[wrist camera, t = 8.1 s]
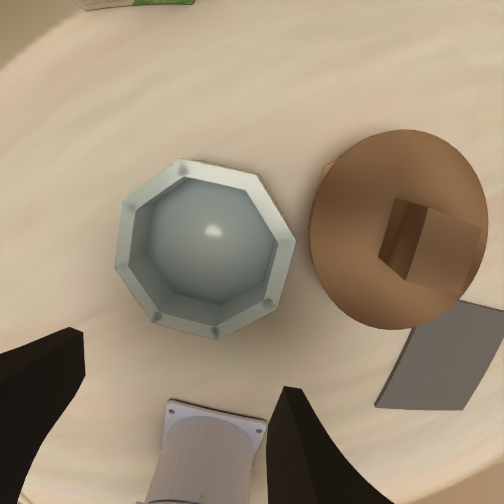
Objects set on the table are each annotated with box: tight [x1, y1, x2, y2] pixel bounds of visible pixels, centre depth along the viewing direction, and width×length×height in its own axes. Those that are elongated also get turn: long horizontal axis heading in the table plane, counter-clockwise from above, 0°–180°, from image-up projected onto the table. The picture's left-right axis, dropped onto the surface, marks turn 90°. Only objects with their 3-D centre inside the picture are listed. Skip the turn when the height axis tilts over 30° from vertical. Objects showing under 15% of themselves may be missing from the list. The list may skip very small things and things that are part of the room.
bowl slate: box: [115, 159, 296, 340], centre depth 18 cm, size 9×9×4 cm
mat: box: [374, 300, 504, 410], centre depth 21 cm, size 10×10×1 cm
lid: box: [309, 130, 488, 330], centre depth 13 cm, size 10×10×4 cm
